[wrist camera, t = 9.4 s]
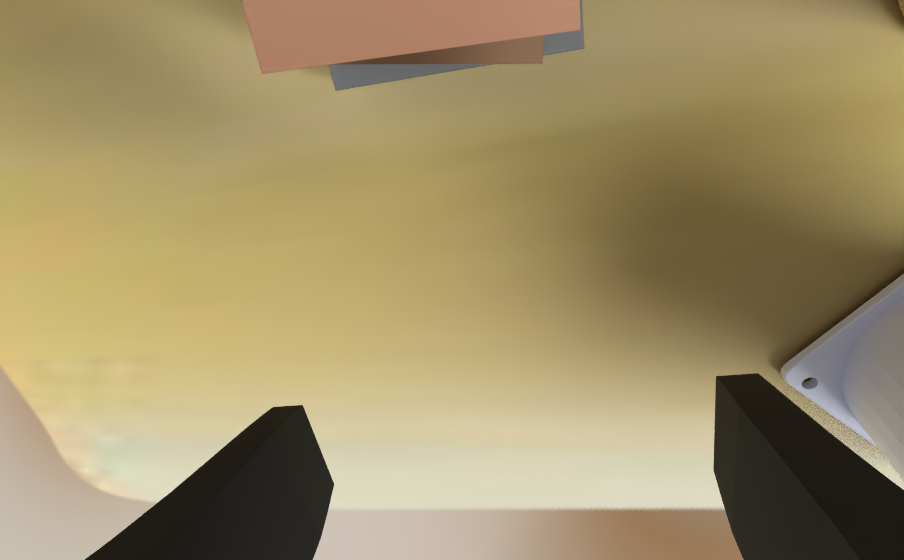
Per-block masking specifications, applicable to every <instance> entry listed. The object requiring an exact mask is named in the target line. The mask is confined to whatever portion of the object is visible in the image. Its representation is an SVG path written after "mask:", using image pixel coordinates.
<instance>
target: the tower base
mask: <svg viewBox="0 0 904 560" xmlns="http://www.w3.org/2000/svg"><path fill="white" fill-rule="evenodd" d="M580 29H581V30H576V31H569V32H562V33H555V34H547V35H544V40H543V55H549V54H555V53H561V52H567V51H573V50H579V49H584V39H583V21H582V4H581V0H580ZM485 65H490V64H355V65H329V67H330V71H331V74H332V78H333V82H334V86H335V90H336V91H337V90H343V89H349V88H355V87H361V86H367V85H373V84H379V83H385V82H390V81H396V80H402V79H408V78H414V77H420V76H426V75H432V74H438V73H443V72H449V71H455V70H461V69H467V68H473V67H479V66H485Z"/></svg>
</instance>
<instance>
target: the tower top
mask: <svg viewBox="0 0 904 560" xmlns="http://www.w3.org/2000/svg"><path fill="white" fill-rule="evenodd" d="M543 40H544V35H540V36H533V37H526V38H518V39H511V40H504V41H497V42H489V43H482V44H475V45H468V46H461V47H453V48H446V49H439V50H432V51H424V52H417V53H410V54H403V55H395V56H388V57H381V58H374V59H366V60H359V61H352V62H345V63H338V64H330V65H355V64H542V58H543Z"/></svg>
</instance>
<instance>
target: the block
mask: <svg viewBox="0 0 904 560" xmlns="http://www.w3.org/2000/svg"><path fill="white" fill-rule="evenodd" d="M242 3H243V6H244V10H245V14H246V17H247V21H248V25H249V28H250V32H251V36H252V39H253V43H254V47H255V50H256V54H257V58H258V61H259V65H260V69H261V72H262V74H265V73H272V72H280V71H287V70H294V69H301V68H309V67H316V66H323V65H330V64H338V63H345V62H352V61H359V60H366V59H374V58H381V57H388V56H395V55H403V54H410V53H417V52H424V51H432V50H439V49H446V48H453V47H461V46H468V45H475V44H482V43H489V42H497V41H504V40H511V39H518V38H526V37H533V36H540V35H547V34H555V33H562V32H569V31H576V30H581V29H580V0H242Z"/></svg>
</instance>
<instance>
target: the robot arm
mask: <svg viewBox="0 0 904 560" xmlns="http://www.w3.org/2000/svg"><path fill="white" fill-rule="evenodd" d="M781 376H782V377H783V379H784V380H785V381H786V383H787V384H788V385H790V386H791V387H793V388H794V389H796V390H797V391H798V392H800V393H801V394H803V395H804V396H805V397H807V398H808V399H810V400H811V401H812V402H814V403H815V404H817V405H818V406H819V407H821V408H822V409H824V410H825V411H826V412H828V413H829V414H831V415H832V416H833V417H835V418H836V419H838V420H839V421H841V422H842V423H843V424H845V425H846V426H848V427H849V428H850V429H852V430H853V431H855V432H856V433H857V434H859V435H860V436H862V437H863V438H864V439H866V440H867V441H869V442H870V443H871V444H873V445H874V446H876V447H877V448H879V450H880V451H881V452H882V453H883V455H884V456H885V457H886V459H887V460H888V461H889V463H890V464H891V465H892V467H893V468H894V469H895V470H896V472H897V473H898V474H899V476H900V477H901V478H902V480H903V481H904V274H903V275H901V276H900V277H899V278H897V279H896V280H895V281H893V282H892V283H891V284H889V285H888V286H887V287H885V288H884V289H883V290H881V291H880V292H879V293H878V294H876V295H875V296H874V297H872V298H871V299H870V300H868V301H867V302H866V303H864V304H863V305H862V306H860V307H859V308H858V309H856V310H855V311H854V312H853V313H851V314H850V315H849V316H847V317H846V318H845V319H843V320H842V321H841V322H839V323H838V324H837V325H835V326H834V327H833V328H831V329H830V330H829V331H828V332H826V333H825V334H824V335H822V336H821V337H820V338H818V339H817V340H816V341H814V342H813V343H812V344H810V345H809V346H808V347H806V348H805V349H804V350H803V351H801V352H800V353H799V354H797V355H796V356H795V357H793V358H792V359H791V360H789V361H788V362H787V363H786V364H785V365H784V366H783V367H782V369H781ZM812 377H813V378H812ZM807 378H812V379H811V380H810V381H808V382H803V381H804V380H805V379H807ZM714 473H715V476H716V480H717V483H718V487H719V490H720V494H721V497H722V501H723V504H724V507H725V510H726V514H727V517H728V520H729V523H730V526H731V530H732V533H733V535H734V538H735V540H736V542H737V545H738V547H739V550H740V552H741V554H742V557H743V559H744V560H904V490H903V489H902V488H900V487H899V486H897V485H896V484H895V483H893V482H892V481H891V480H890V479H888V478H887V477H886V476H884V475H883V474H882V473H880V472H879V471H878V470H877V469H875V468H874V467H873V466H871V465H870V464H869V463H868V462H866V461H865V460H864V459H862V458H861V457H860V456H858V455H857V454H856V453H855V452H853V451H852V450H851V449H849V448H848V447H847V446H846V445H844V444H843V443H842V442H841V441H839V440H838V439H837V438H836V437H834V436H833V435H832V434H831V433H829V432H828V431H827V430H826V429H825V428H823V427H822V426H821V425H820V424H818V423H817V422H816V421H815V420H814V419H812V418H811V417H810V416H809V415H807V414H806V413H805V412H804V411H803V410H801V409H800V408H799V407H798V406H797V405H795V404H794V403H793V402H792V401H791V400H789V399H788V398H787V397H786V396H785V395H784V394H782V393H781V392H780V391H779V390H778V389H776V388H775V387H774V386H773V385H771V384H770V383H769V382H768V381H767V380H765V379H764V378H763V377H762V376H760V375H759V374H758V373H757V374H742V375H728V376H716V400H715V438H714ZM333 486H334V483H333V480H332V478H331V475H330V473H329V470H328V468H327V465H326V463H325V460H324V458H323V455H322V453H321V450H320V448H319V445H318V443H317V440H316V438H315V435H314V433H313V430H312V428H311V425H310V423H309V420H308V418H307V415H306V413H305V410H304V408H303V405H298V406H283V407H273V408H271V409H270V410H269V411H267V412H266V413H265V414H263V415H262V416H261V417H260V418H258V419H257V420H256V421H255V422H253V423H252V424H251V425H250V426H248V427H247V428H246V429H245V430H244V431H242V432H241V433H240V434H239V435H238V436H237V437H235V438H234V439H233V440H232V441H231V442H229V443H228V444H227V445H226V446H225V447H224V448H222V449H221V450H220V451H219V452H218V453H217V454H215V455H214V456H213V457H212V458H211V459H210V460H208V461H207V462H206V463H205V464H204V465H203V466H201V467H200V468H199V469H198V470H197V471H195V472H194V473H193V474H192V475H191V476H190V477H188V478H187V479H186V480H185V481H184V482H182V483H181V484H180V485H179V486H178V487H177V488H175V489H174V490H173V491H172V492H171V493H169V494H168V495H167V496H166V497H164V498H163V499H162V500H161V501H159V502H158V503H157V504H156V505H154V506H153V507H152V508H151V509H149V510H148V511H147V512H146V513H144V514H143V515H142V516H141V517H139V518H138V519H137V520H136V521H134V522H133V523H132V524H131V525H130V526H128V527H127V528H126V529H124V530H123V531H122V532H121V533H119V534H118V535H117V536H116V537H114V538H113V539H112V540H111V541H109V542H108V543H106V544H105V545H104V546H103V547H101V548H100V549H99V550H97V551H96V552H95V553H93V554H92V555H90V556H89V557H88V558H86V559H85V560H313V557H314V555H315V552H316V549H317V547H318V544H319V541H320V538H321V535H322V531H323V527H324V524H325V520H326V516H327V512H328V508H329V504H330V499H331V495H332V491H333Z"/></svg>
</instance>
